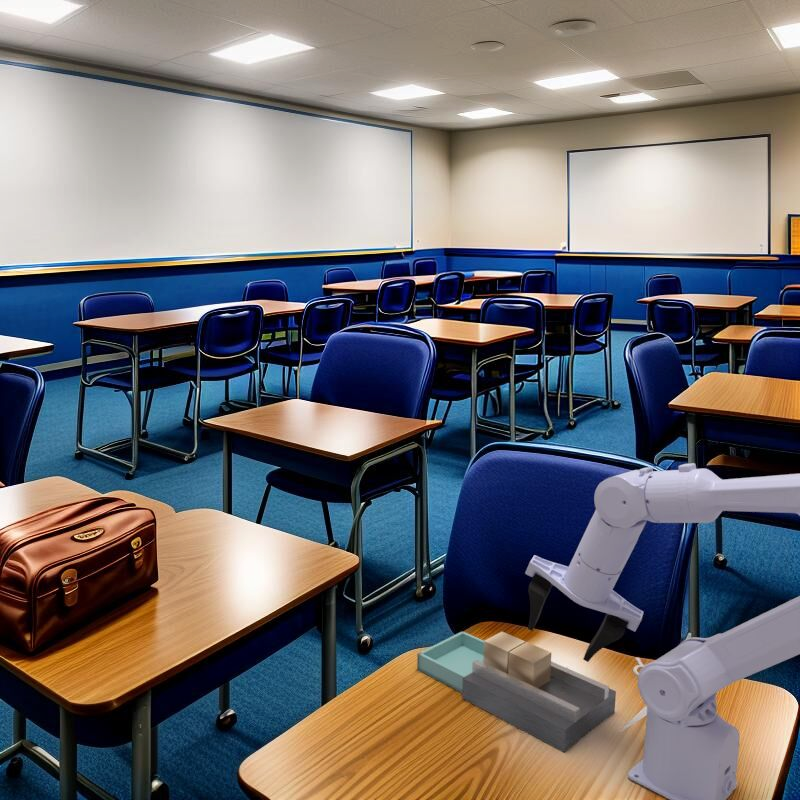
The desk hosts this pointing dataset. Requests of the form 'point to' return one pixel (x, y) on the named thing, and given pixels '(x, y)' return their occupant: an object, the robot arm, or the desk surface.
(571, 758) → the desk surface
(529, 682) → the block
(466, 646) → the tray
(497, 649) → the block
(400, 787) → the desk surface
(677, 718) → the robot arm
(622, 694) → the desk surface
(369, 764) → the desk surface
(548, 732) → the slot board
